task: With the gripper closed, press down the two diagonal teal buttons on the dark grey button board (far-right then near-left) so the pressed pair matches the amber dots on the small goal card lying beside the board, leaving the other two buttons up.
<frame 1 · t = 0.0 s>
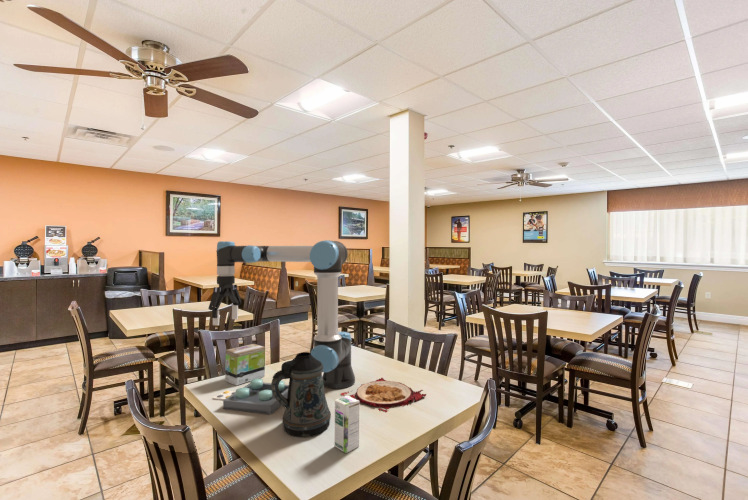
hand: (225, 322, 163), 28 cm above the table, tool pointing down, fingers open, 13 cm apart
button board: (260, 400, 145), on the table
tea box: (245, 379, 169), on the table
plate with food: (383, 398, 149), on the table
button c: (256, 383, 151), point 5 cm above the table, slide at 0.0 cm
goal card: (227, 395, 149), on the table
button a: (278, 385, 148), point 5 cm above the table, slide at 0.0 cm
beer stein: (303, 428, 123), on the table
button d: (242, 393, 141), point 5 cm above the table, slide at 0.0 cm
syrup box: (346, 447, 111), on the table
button b: (265, 395, 138), point 5 cm above the table, slide at 0.0 cm
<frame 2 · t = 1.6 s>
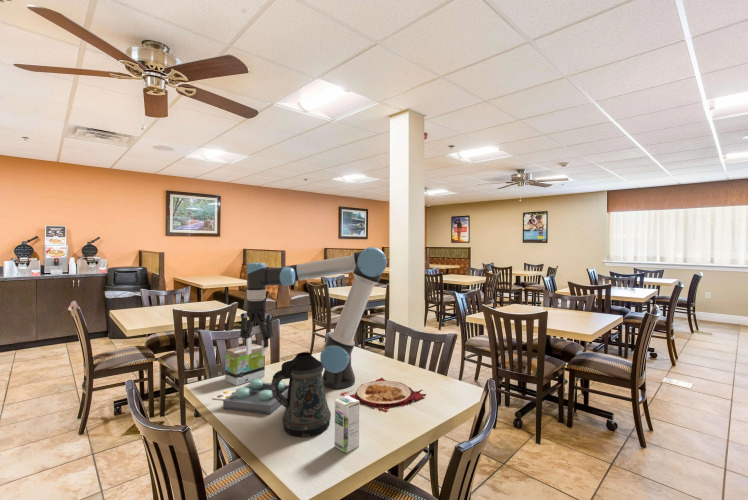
hand: (256, 354, 150), 17 cm above the table, tool pointing down, fingers open, 6 cm apart
nothing on the table moved.
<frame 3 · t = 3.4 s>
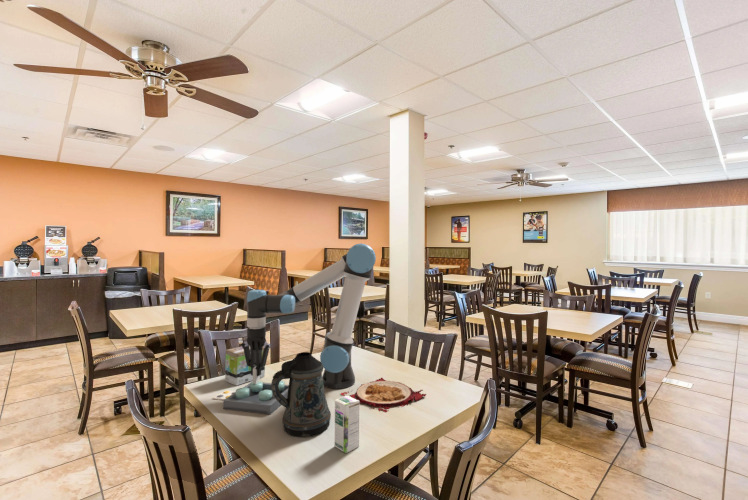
hand: (256, 383, 151), 5 cm above the table, tool pointing down, fingers closed
button c: (256, 386, 151), point 3 cm above the table, slide at 1.2 cm, touching gripper
everything else where it was.
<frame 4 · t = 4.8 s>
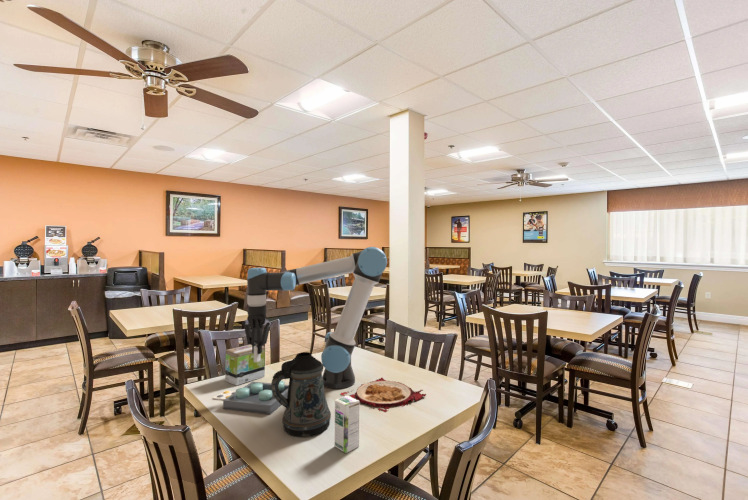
hand: (257, 361, 150), 14 cm above the table, tool pointing down, fingers closed
button c: (256, 388, 151), point 3 cm above the table, slide at 1.9 cm
everything else where it was.
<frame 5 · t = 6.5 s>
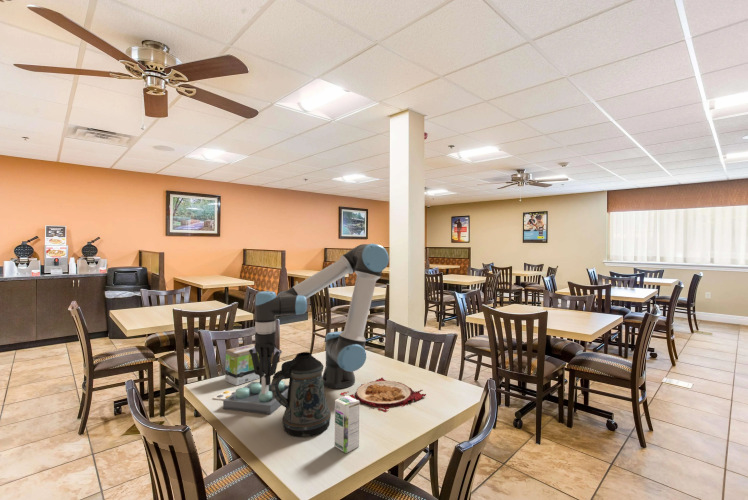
hand: (265, 392, 138), 6 cm above the table, tool pointing down, fingers closed
button b: (265, 396, 138), point 4 cm above the table, slide at 0.5 cm, touching gripper
everything else where it was.
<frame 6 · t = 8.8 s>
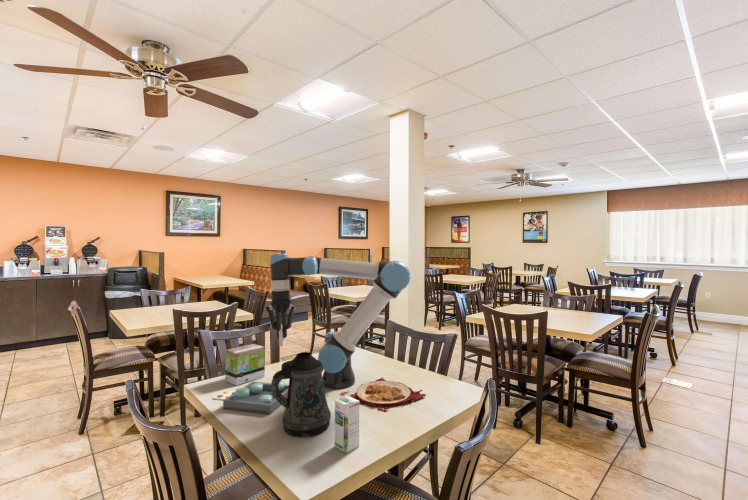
hand: (282, 345, 152), 20 cm above the table, tool pointing down, fingers closed
button b: (265, 400, 138), point 3 cm above the table, slide at 1.9 cm
everything else where it was.
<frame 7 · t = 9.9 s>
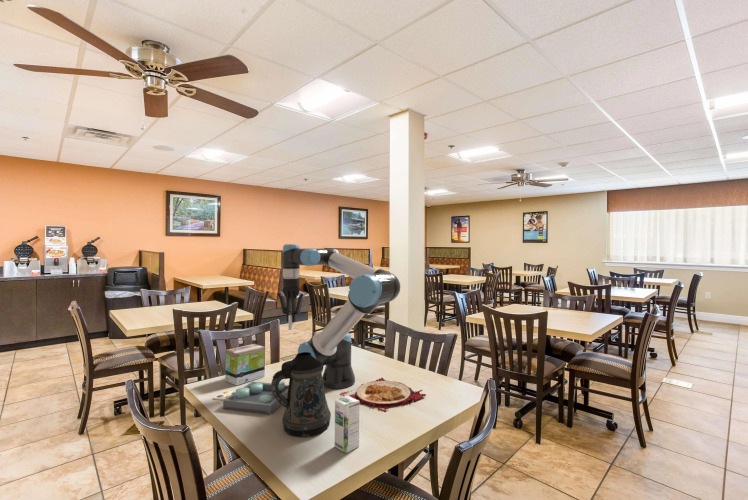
hand: (291, 329, 164), 24 cm above the table, tool pointing down, fingers closed
nothing on the table moved.
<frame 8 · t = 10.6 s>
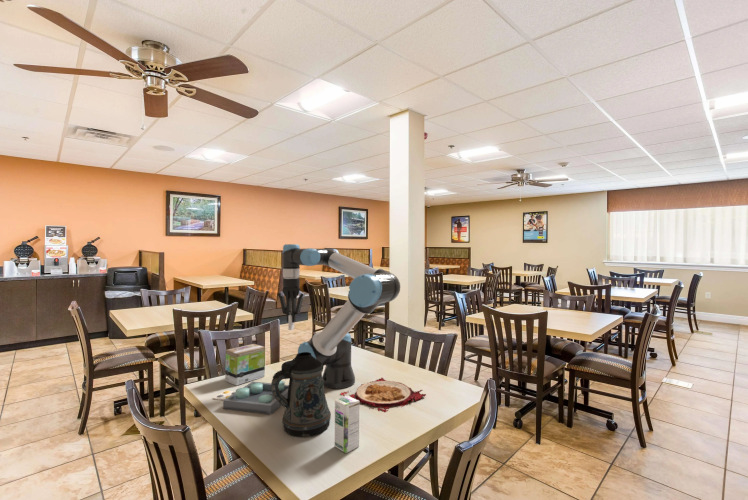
hand: (291, 329, 164), 24 cm above the table, tool pointing down, fingers closed
nothing on the table moved.
at the end: button c slide at 1.9 cm; button b slide at 1.9 cm; button a slide at 0.0 cm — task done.
